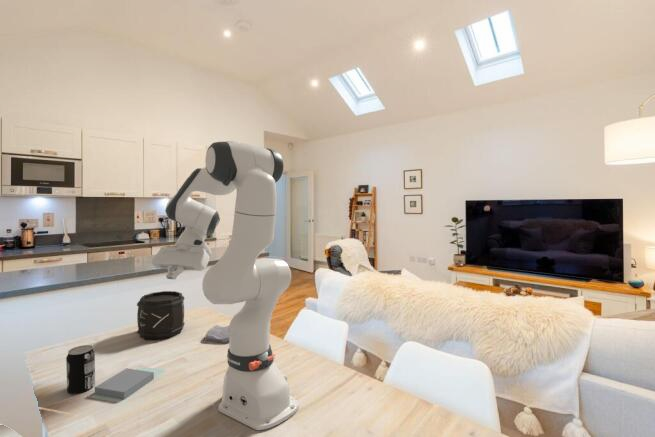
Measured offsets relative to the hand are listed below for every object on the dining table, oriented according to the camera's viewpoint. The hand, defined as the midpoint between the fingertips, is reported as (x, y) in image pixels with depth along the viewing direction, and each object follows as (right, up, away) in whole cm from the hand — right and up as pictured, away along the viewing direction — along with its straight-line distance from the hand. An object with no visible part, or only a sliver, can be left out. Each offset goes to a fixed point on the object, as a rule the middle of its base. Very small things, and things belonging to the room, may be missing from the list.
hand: (170, 278), depth 113 cm
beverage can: (-18, -30, -17) cm, 38 cm away
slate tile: (-4, -28, -11) cm, 30 cm away
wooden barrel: (-16, -28, +25) cm, 40 cm away
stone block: (+11, -29, +21) cm, 37 cm away
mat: (-5, -29, -14) cm, 33 cm away
